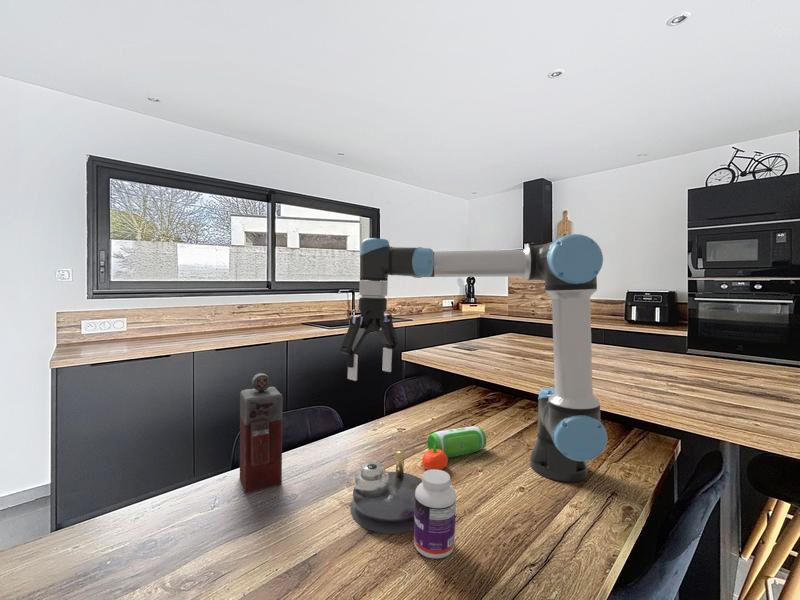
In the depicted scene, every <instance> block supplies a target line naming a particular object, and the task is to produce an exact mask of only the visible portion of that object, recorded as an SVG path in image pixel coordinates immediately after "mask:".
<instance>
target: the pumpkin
mask: <svg viewBox="0 0 800 600" xmlns="http://www.w3.org/2000/svg"><path fill="white" fill-rule="evenodd" d="M421 460H422V461H421V466H423V469H425V470H426V471H427V470H432V469H436V470H442V471H443V470H444V468H446V467H447V466H448V462H449V457H447V456H446V454H445V453H444V452H443V451H442V450H439V449H436V447H435V446H434V447H433V449H431V450H427V451H426V452H425V453H424V454H423V456H422V459H421Z"/></svg>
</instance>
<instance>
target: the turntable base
mask: <svg viewBox="0 0 800 600" xmlns="http://www.w3.org/2000/svg"><path fill="white" fill-rule="evenodd" d="M350 515H351V516H352V519H353V520H354V521H355V523H356V524H358V525H359V526H360V527H362V528H364V529H366V530H368V531H371V532H374V533H378V534H383V535H401V534H407V533H411V532H414V520H413V521H410V522H405V523H399V524H386V523H379V522H375V521H372V520H369V519H367V518H365V517H364V516H362V515H361V514H359V513H358V512H357V511H356V509H355V507H354V505H353V500H352V501H351V503H350Z"/></svg>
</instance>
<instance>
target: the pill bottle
mask: <svg viewBox="0 0 800 600" xmlns="http://www.w3.org/2000/svg"><path fill="white" fill-rule="evenodd" d="M421 475H422V476H421V479H422V483H420V484H419V485H418V486H417V488H416V491H415V517H414V518H415V519H414V531H413V544H414V547H415V549H416V550H417V551H418V553H420V555H422V556H424V557H425V558H429V559H435V560H436V559H443V558H446V557H447V556H449V555H451V553H452V552H453V550H454V548H455V542H456V539H455V538H456V535H455V534H456V509H457V508H456V505H457V504H456V503H457V493H456V491H455V488H454V487H453V486H452V485H451V476H450V474H449V473H448V472H447V471H445V470H443V469H442V470H436V469H432V470H427V469H426V470H425V471H424V472H423V473H422V474H421Z"/></svg>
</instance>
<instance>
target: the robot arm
mask: <svg viewBox="0 0 800 600" xmlns="http://www.w3.org/2000/svg"><path fill="white" fill-rule="evenodd" d="M359 260H360V261H359V262H360V263H359V270H360V271H359V290H358V291H359V293H358V294H359V295H360V296H361V297H359V298H358V310H359V312H360V314H359V315H351V317H350V323H349V325H348V329H347V331H346V333H345V337H344V339H343V341H342V344H341V346H340V352H341V353H343V354H346V363H345V364H346V367H347V378H346V379H348V380H349V381H350V380H351V381H354V382H356V381H358V362H359V361H358V360H359V354H356V353H357V352H358V350H359V348H360V347H361V346H362V345H361V344H362V343H363V341H364V340H365V338H366V337H367V335H369V334H370V333H373V332H376V333H377V335H378V336H379V338H380V340H381V341H382V344H384V346H385V347H383V348H382V365H381V366H382V371H383V372H388V373H391V372H392V361H393V356H394V355H393V353H394V351H393V350H394V349H395V350H396V348H397V346H398V345H399V340H398V338H397V333H396V330H395V327H394V323H393V316H392V315H393V314H391V313H386V311H387V308H388V307H387V306H388V299H387V298H386V297H387V296H388V285H389V284H388V282H389V281H388V279H389V276H398V277H399V276H402V277H413V278H415V279H416V278H418V279H420V278H452V277H453V278H455V277H456V278H460V277H461V278H462V277H463V278H465V277H466V278H468V277H469V278H472V277H476V278H477V277H479V278H480V277H482V278H483V277H484V278H485V277H486V278H487V277H490V278H491V277H492V278H493V277H495V278H496V277H502V278H503V277H523V279H525V280H526V281H542V282H544V289H545V290H544V291H545V293H546V294H547V295H548V296H549V297H550V298H551V304H552V305H551V309H552V310H551V311H552V341H553V342H552V344H553V347H552V349H553V371H554V373H553V375H554V377H553V379H554V380H553V381H554V382H553V383H554V387H543V388H541V389H540V390H539V392H538V398H537V400H538V410H537V411H538V413H537V414H538V417H537V438H536V441H535V443H534V445H533V448H532V451H531V453H530V457H529V465H530V468H531V469H532V470H533V471H534V472H536V473H537V474H539V475H540V476H543V477H545V478H548V479H550V480H553V481H554V480H555V481H558V482H564V483H575V482H581V481H583V480H585V479H587V477H588V463H587V462H588V461H592V460H595V459H597V458H598V457H599V456H600V455H601V454H603V453H604V451H605V450H606V449H607V445H608V433H607V431H606V428H605V426H604V425H603V423H602V422H601V403H600V401H599V399H597V398H596V396H594V393H593V392H594V390H593V358H592V357H593V355H592V353H593V352H592V330H591V329H592V321H591V319H592V317H591V315H592V314H591V313H592V312H591V297H592V295H594V294H595V293H596V292H597V290H598V282H597V281H598V277H597V276H598V275H599V273H600V271H601V269H602V267H603V264H604V263H603V262H604V256H603V251H602V249H601V247H600V245H599V244H598V243H597V242H596V241H595V240H594V239H593V238H591V237H589V236H588V235H584V234H577V233H574V234H573V233H572V234H566V235H562V236H560V237H558V238H556V239H555V240H553V241H551V242H548V243H544V244H538V245H527V246H525V248H523V249H498V250H497V249H495V250H490V249H487V250H444V251H443V250H442V251H433V249H432V248H430V247H427V248H426V247H421V246H418V247H403V246H402V247H394V246H390V241H389V240H388V239H385V238H378V237H377V238H376V237H372V238H370V237H368V238H365V239H363V240H362V241H361V246H360V255H359Z"/></svg>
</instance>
